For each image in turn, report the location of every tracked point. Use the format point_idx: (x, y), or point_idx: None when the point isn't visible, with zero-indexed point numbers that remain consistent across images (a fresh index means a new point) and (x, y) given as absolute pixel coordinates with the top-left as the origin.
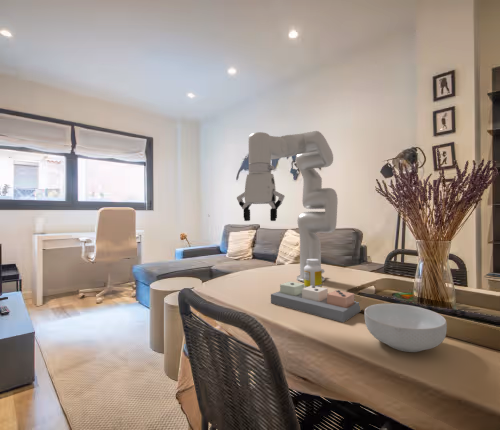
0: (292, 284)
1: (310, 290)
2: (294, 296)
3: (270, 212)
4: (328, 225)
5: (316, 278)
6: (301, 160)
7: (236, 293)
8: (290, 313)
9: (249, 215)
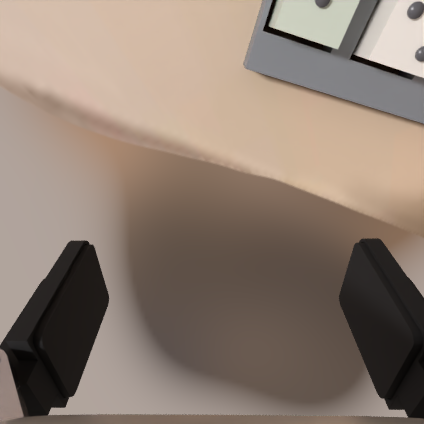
0: (324, 5)
1: (399, 67)
2: (329, 56)
3: (367, 365)
4: None
5: None
6: None
7: (79, 9)
8: (319, 125)
9: (77, 289)
